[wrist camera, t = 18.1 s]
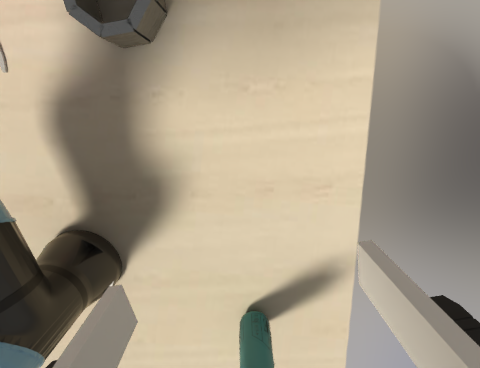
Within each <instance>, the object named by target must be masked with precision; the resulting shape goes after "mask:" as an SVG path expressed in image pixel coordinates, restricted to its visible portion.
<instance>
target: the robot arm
mask: <svg viewBox="0 0 480 368" xmlns="http://www.w3.org/2000/svg"><path fill="white" fill-rule="evenodd" d="M15 221H16V219H15V218H12V217H11V215H10V213H9V212H8V210H7V209H6V207H5V206H4V204H3V202H2V201H1V200H0V368H39V367H41V366H42V365H43V363H44V362H45V360H46V358H47V357H48V356H49V354H50V353H51V352H52V351H53V349H54V348H55V347H56V345H57V344H58V343H59V341H60V340H61V339H62V338H63V336H64V335H65V334H66V332H67V331H68V330H69V329H70V327H71V326H72V325H73V323H74V322H75V321H76V319H77V318H78V317H79V316H80V314H81V313H82V312H83V311H84V309H85V308H86V307H88V306H89V305H91V304H92V303H94V302H95V301H97V300H98V299H99V298H100V300H99V301H98V303H97V304H96V306H95V307H94V308H93V310H92V311H91V313H90V314H89V316H88V317H87V319H86V320H85V321H84V323H83V324H82V326H81V327H80V329H79V330H78V331H77V333H76V334H75V336H74V337H73V339H72V340H71V342H70V343H69V344H68V346H67V347H66V349H65V350H64V352H63V353H62V355H61V356H60V357H59V359H58V360H55V361H52V362H51V363H50V364H49V365H48V366H47V367H46V368H117V367H118V365H119V362H120V360H121V358H122V356H123V353H124V351H125V349H126V347H127V344H128V342H129V340H130V338H131V335H132V333H133V331H134V329H135V327H136V324H137V322H138V321H137V319H136V317H135V314H134V312H133V310H132V307H131V305H130V303H129V300H128V298H127V296H126V294H125V291H124V289H123V287H122V285H116V286H114V285H115V284H116V282H117V281H118V279H119V277H120V275H121V270H122V266H121V260H120V257H119V255H118V253H117V251H116V250H115V249H114V247H113V246H112V245H111V244H110V243H109V242H108V241H106V240H105V239H103V238H102V237H100V236H98V235H96V234H94V233H91V232H87V231H78V230H77V231H69V232H65V233H63V234H61V235H59V236H58V237H56V238H55V239H53V240H52V241H51V242H49V243H48V244H47V245H46V246H45V248H44V249H43V251H42V253H41V254H40V255H39V257H38V258H37V259H35V258H34V256H33V254H32V252H31V250H30V248H29V247H28V245H27V243H26V241H25V239H24V237H23V235H22V234H21V232H20V230H19V228H18V226H17V224H16V222H15ZM357 249H358V271H359V284H360V286H361V287H362V288H363V290H364V292H365V293H366V294H367V296H368V297H369V299H370V300H371V302H372V303H373V304H374V306H375V307H376V309H377V310H378V312H379V313H380V315H381V316H382V317H383V319H384V320H385V322H386V323H387V325H388V326H389V328H390V329H391V330H392V332H393V333H394V335H395V336H396V337H397V339H398V340H399V342H400V343H401V345H402V346H403V347H404V349H405V351H406V352H407V353H408V355H409V356H410V358H411V359H412V361H413V362H414V363H415V365H416V366H417V368H480V323H479V322H478V321H477V320H476V319H474V318H473V317H472V316H471V315H470V314H469V313H468V312H467V311H466V310H465V309H464V308H463V307H461V306H460V305H459V304H457V303H456V302H453V301H452V300H450V299H448V298H447V297H445V296H443V295H441V296H435V297H428V295H426V294H425V292H424V291H423V290H422V289H421V288H419V287H418V285H417V284H416V283H415V282H414V281H412V280H411V278H410V277H408V275H406V274H405V273H404V272H403V271H402V270H401V269H400V268H399V267H398V266H397V265H396V264H395V263H394V262H393V261H392V260H391V259H390V258H389V257H388V256H387V255H386V254H385V253H384V252H383V251H382V250H381V249H380V248H379V247H378V246H377V245H376V244H375V243H374V242H373V241H372V240H369V241H363V242H358V243H357Z"/></svg>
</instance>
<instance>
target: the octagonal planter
mask: <svg viewBox="0 0 480 368" xmlns="http://www.w3.org/2000/svg"><path fill="white" fill-rule="evenodd" d="M63 1H64V4H65V7H66V10H67V12H69V15H71V16H72V17H74V18H75V19H76V20H78V21H79V22H80V23H82V24H83V25H84V26H86V27H87V28H88V29H90V30H91V31H92V32H94V33H95V34H96V35H98V36H99V37H101V38H103V39H105V40H107V41H109V42H111V43H113V44H115V45H117V46H119V47H123V48H127V47H132V46H138V45H143V44H149V43H150V40H151V41H152V42H153V40H154V38H155V36H156V34H157V32H158V31H159V29H160V27H161V25H162V23H163V21H164V20H165V18H166V16H167V15H166V12H167V9H166V4H165V0H137V1H136V3H135V5H134V7H133V9H132V11H131V13H130V15H129V17H128V19H125V20H120V21H115V22H109V23H104V22H103V20H102V17H101V13H100V10H99V6H98V3H97V0H63Z"/></svg>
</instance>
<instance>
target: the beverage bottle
mask: <svg viewBox="0 0 480 368" xmlns="http://www.w3.org/2000/svg"><path fill="white" fill-rule="evenodd" d="M268 321H269V320H268V319H267V317H266V316H265V315H264V314H263V313H261V312H258V311H251V312H248V313H246V314H245V315H243V317H242V319H241V322H240V324H239V325H240V333H239V343H240V348H239V349H240V353H239V354H240V359H239V360H240V368H274V363H275V362H274V361H273V353H272V345H271V342H272V341H271V337H270V335H271V332H270V329H269V326H270V325H269V324H270V323H269V322H268Z"/></svg>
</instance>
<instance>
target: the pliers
mask: <svg viewBox="0 0 480 368" xmlns="http://www.w3.org/2000/svg"><path fill="white" fill-rule="evenodd" d="M0 66H1V69H2V72H4V73H6V72H7V65H6V61H5V57H4V54H3V51H2V49H1V46H0Z"/></svg>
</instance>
